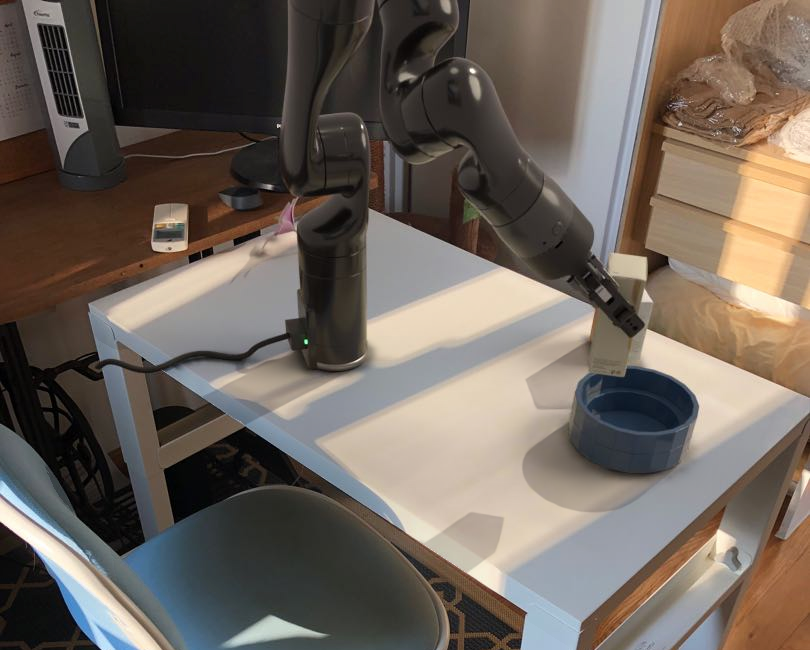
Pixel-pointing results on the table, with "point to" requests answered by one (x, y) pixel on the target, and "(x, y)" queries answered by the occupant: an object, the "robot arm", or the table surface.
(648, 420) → the bowl
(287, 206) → the lily
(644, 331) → the small box
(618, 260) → the cosmetic box
